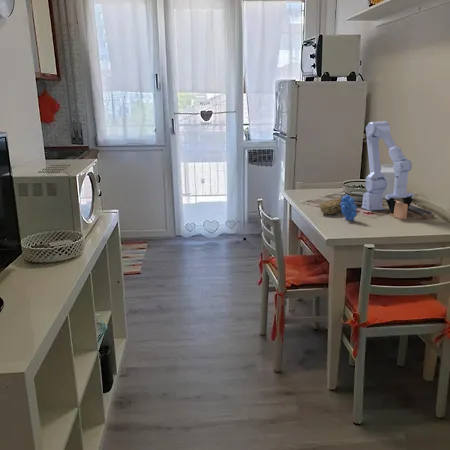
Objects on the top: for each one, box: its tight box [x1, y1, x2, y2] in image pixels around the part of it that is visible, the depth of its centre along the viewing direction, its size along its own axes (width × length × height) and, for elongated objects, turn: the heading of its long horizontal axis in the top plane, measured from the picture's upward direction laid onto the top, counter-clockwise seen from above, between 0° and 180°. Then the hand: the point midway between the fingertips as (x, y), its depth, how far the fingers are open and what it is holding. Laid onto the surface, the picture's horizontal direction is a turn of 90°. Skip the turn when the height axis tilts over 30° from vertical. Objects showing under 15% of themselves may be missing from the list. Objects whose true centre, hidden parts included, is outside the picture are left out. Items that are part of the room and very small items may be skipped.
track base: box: [407, 204, 436, 220], centre depth 229 cm, size 9×18×3 cm, turn 16°
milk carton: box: [380, 163, 395, 199], centre depth 263 cm, size 7×7×19 cm
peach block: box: [389, 199, 408, 220], centre depth 225 cm, size 2×10×7 cm, turn 16°
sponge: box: [319, 197, 342, 215], centre depth 235 cm, size 13×8×20 cm
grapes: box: [340, 194, 358, 222], centre depth 220 cm, size 12×7×12 cm, turn 23°
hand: (398, 212), depth 226 cm, fingers open, 7 cm apart
